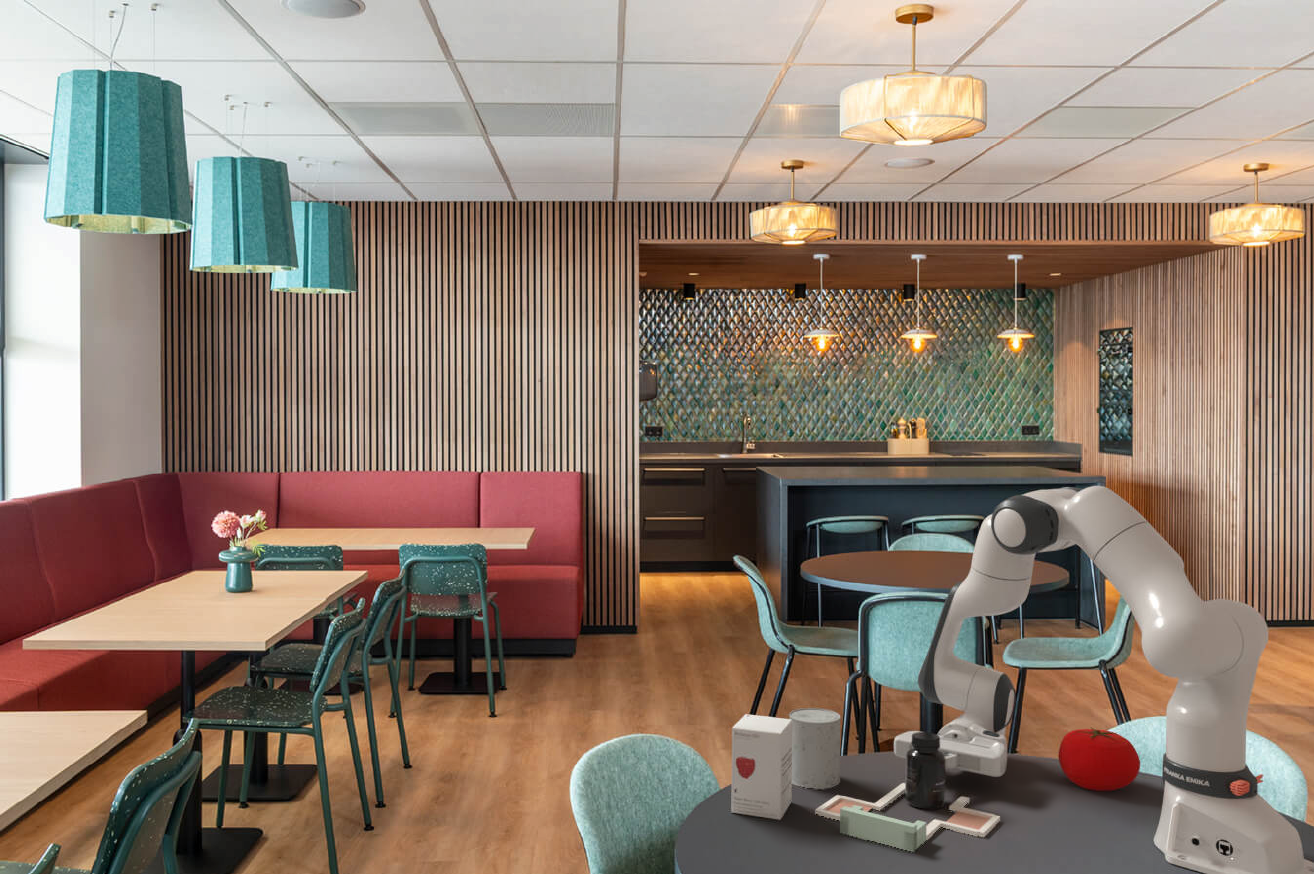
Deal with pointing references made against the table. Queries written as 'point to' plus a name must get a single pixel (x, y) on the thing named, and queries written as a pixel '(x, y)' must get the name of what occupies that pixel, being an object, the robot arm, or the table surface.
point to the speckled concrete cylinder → (815, 748)
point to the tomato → (1098, 759)
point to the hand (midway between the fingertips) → (934, 764)
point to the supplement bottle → (925, 772)
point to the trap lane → (897, 831)
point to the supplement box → (761, 766)
